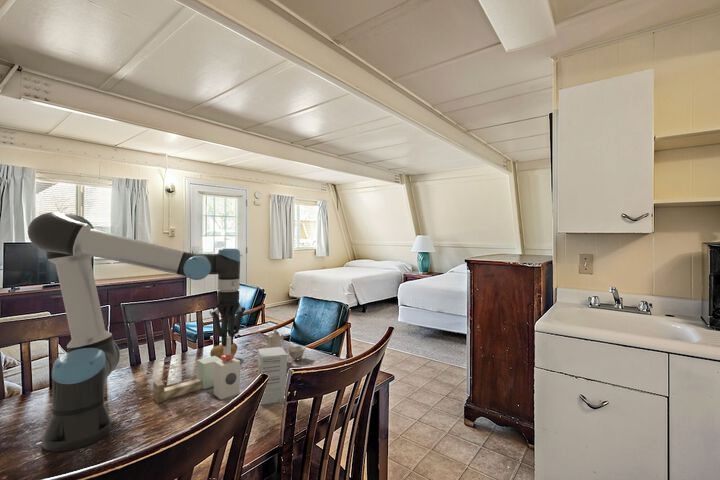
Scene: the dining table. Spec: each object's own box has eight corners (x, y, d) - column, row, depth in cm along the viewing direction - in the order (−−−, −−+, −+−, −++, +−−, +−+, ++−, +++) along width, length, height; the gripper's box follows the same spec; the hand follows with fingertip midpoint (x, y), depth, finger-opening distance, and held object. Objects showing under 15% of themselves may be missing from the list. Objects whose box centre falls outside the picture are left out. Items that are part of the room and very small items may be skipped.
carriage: (203, 389, 128) (203, 364, 128) (196, 384, 132) (197, 359, 132) (221, 383, 134) (221, 359, 133) (214, 379, 138) (215, 355, 138)
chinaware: (281, 382, 140) (286, 343, 140) (245, 374, 144) (250, 335, 144) (307, 359, 167) (311, 326, 167) (276, 353, 171) (280, 320, 171)
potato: (243, 357, 164) (243, 341, 164) (221, 367, 151) (221, 349, 151) (227, 354, 168) (227, 338, 168) (204, 364, 155) (204, 346, 155)
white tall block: (221, 399, 121) (222, 366, 121) (213, 394, 125) (214, 361, 125) (240, 393, 126) (240, 361, 126) (231, 388, 130) (232, 356, 130)
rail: (157, 403, 118) (158, 385, 117) (153, 398, 121) (153, 381, 121) (229, 381, 137) (230, 366, 137) (224, 377, 140) (224, 363, 140)
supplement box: (256, 393, 126) (257, 348, 126) (281, 390, 130) (282, 345, 130) (259, 405, 117) (260, 356, 117) (286, 401, 121) (287, 353, 121)
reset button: (224, 370, 123) (224, 358, 123) (218, 367, 126) (218, 355, 126) (235, 367, 126) (235, 355, 126) (230, 364, 129) (230, 352, 129)
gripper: (215, 293, 118) (214, 361, 118) (250, 289, 128) (248, 352, 128) (206, 290, 123) (204, 355, 123) (240, 287, 133) (238, 348, 133)
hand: (227, 354), depth 126 cm, fingers closed
